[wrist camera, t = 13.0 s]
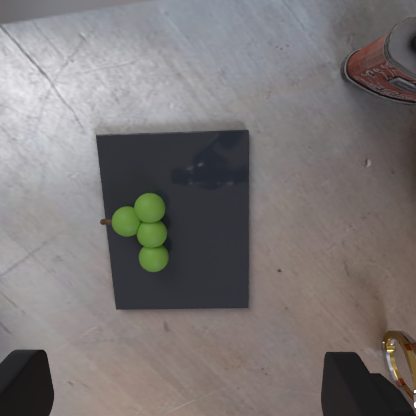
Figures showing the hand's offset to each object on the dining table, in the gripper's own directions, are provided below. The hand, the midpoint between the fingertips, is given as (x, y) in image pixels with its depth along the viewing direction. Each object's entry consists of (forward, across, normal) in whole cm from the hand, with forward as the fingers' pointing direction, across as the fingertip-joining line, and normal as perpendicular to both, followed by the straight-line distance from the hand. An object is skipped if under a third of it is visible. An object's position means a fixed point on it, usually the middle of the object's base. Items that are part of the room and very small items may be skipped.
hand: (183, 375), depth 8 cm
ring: (+21, -19, +16) cm, 33 cm away
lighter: (+22, -16, -11) cm, 29 cm away
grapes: (+19, +4, +2) cm, 20 cm away
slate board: (+21, +3, +2) cm, 21 cm away
